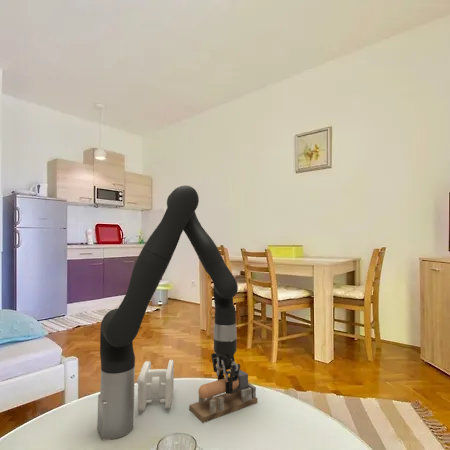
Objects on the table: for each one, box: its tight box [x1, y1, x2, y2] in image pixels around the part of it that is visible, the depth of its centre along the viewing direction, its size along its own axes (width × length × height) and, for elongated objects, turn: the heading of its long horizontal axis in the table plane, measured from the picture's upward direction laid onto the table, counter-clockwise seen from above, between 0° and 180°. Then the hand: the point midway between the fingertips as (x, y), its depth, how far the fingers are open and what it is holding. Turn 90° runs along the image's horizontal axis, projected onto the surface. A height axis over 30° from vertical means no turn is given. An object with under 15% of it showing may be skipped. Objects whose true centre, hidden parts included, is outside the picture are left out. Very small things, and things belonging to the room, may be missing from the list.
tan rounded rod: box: [197, 369, 249, 400], centre depth 101 cm, size 18×4×4 cm, turn 124°
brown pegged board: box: [188, 382, 258, 424], centre depth 101 cm, size 21×9×5 cm, turn 124°
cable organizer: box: [136, 359, 175, 412], centre depth 103 cm, size 15×11×12 cm
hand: (225, 389), depth 101 cm, fingers closed on tan rounded rod, 4 cm apart
